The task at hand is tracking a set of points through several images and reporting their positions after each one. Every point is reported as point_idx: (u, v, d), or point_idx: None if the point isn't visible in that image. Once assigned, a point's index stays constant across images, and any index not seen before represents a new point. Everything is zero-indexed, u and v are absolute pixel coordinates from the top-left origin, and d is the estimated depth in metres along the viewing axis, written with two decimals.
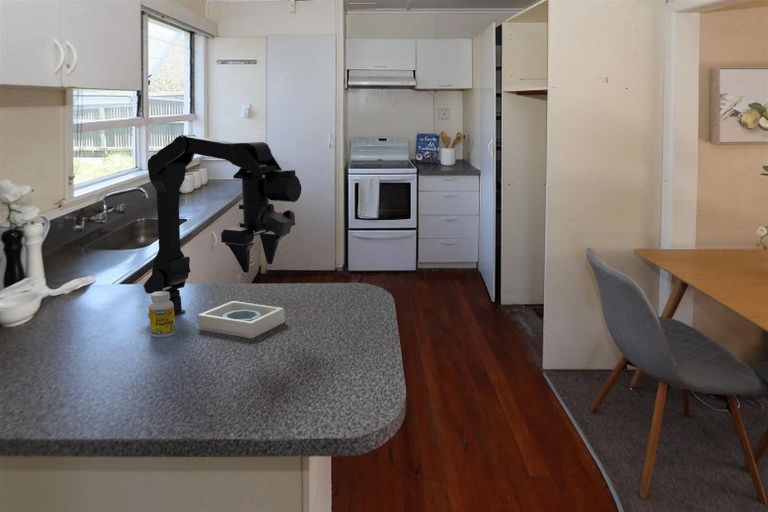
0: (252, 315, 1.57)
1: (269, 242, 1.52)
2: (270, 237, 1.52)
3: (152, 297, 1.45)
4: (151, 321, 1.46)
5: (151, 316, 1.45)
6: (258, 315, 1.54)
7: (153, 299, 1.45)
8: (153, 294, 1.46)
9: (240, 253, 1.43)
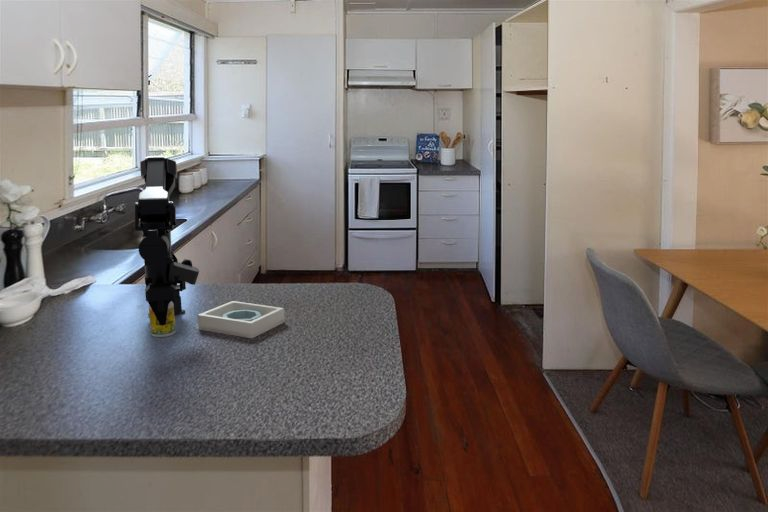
0: (252, 315, 1.57)
1: None
2: None
3: None
4: (151, 321, 1.46)
5: (151, 316, 1.45)
6: (258, 315, 1.54)
7: None
8: None
9: (159, 307, 1.43)
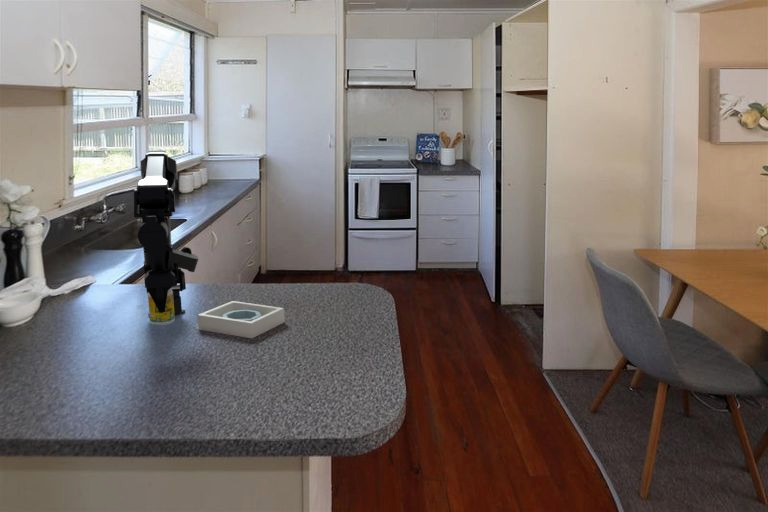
0: (252, 315, 1.57)
1: None
2: None
3: None
4: (150, 309, 1.45)
5: (150, 303, 1.45)
6: (258, 315, 1.54)
7: None
8: None
9: (158, 294, 1.43)
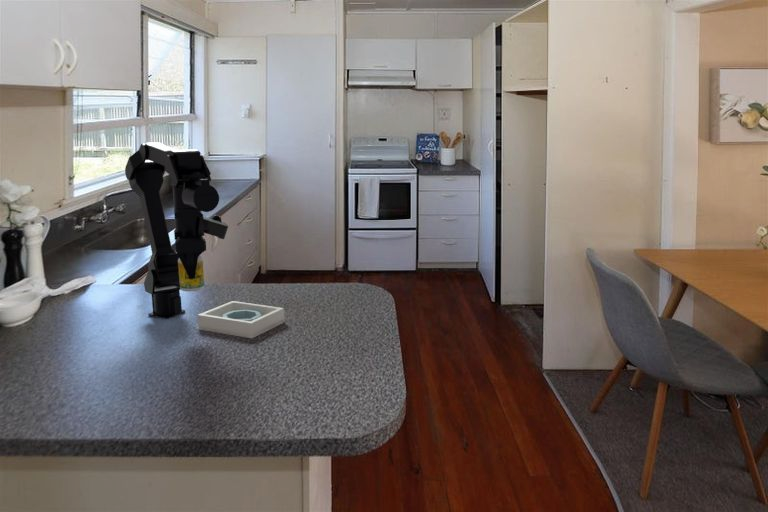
0: (252, 315, 1.57)
1: None
2: None
3: None
4: (180, 275, 1.46)
5: (180, 269, 1.46)
6: (258, 315, 1.54)
7: None
8: None
9: (189, 260, 1.43)
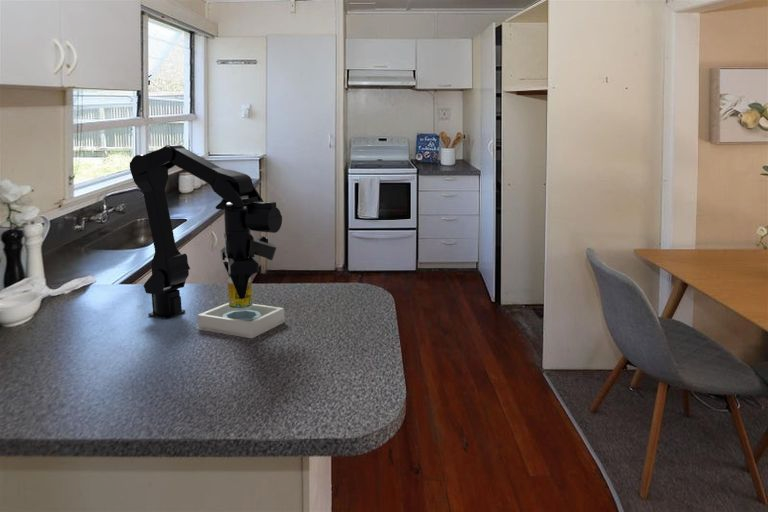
0: (252, 315, 1.57)
1: None
2: None
3: None
4: (230, 295, 1.51)
5: (230, 290, 1.51)
6: (258, 315, 1.54)
7: None
8: None
9: (240, 281, 1.48)
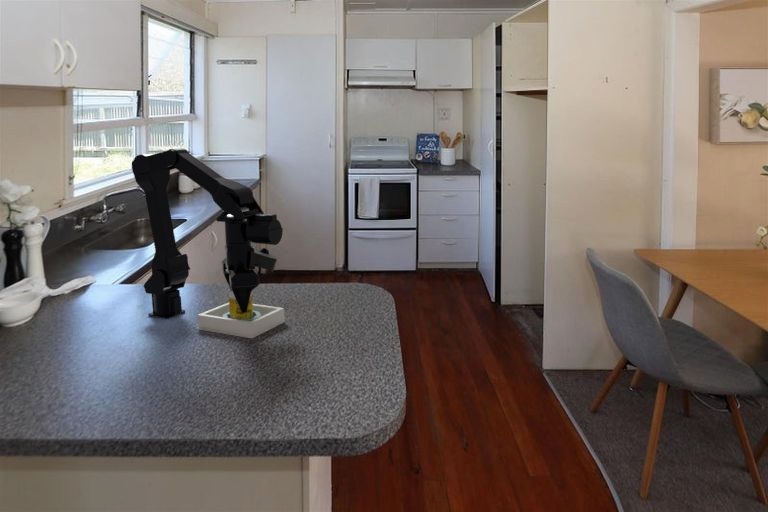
0: None
1: None
2: None
3: None
4: (231, 310, 1.52)
5: (231, 304, 1.51)
6: (258, 315, 1.54)
7: None
8: None
9: (242, 294, 1.47)
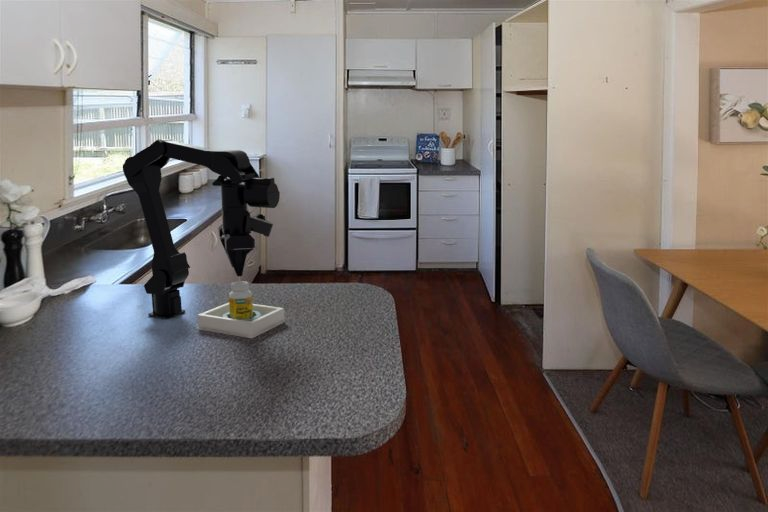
0: None
1: None
2: None
3: (233, 286, 1.51)
4: (231, 310, 1.52)
5: (231, 304, 1.51)
6: (258, 315, 1.54)
7: (234, 288, 1.51)
8: (233, 284, 1.51)
9: (237, 258, 1.48)
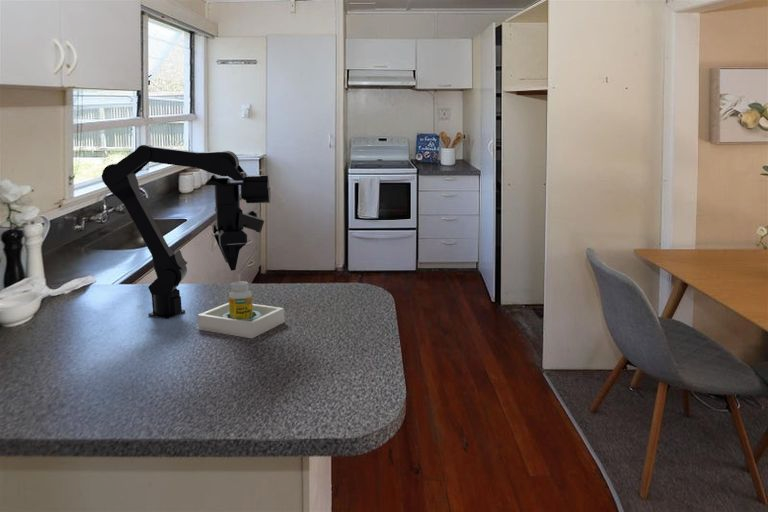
0: None
1: None
2: None
3: (233, 286, 1.51)
4: (231, 310, 1.52)
5: (231, 304, 1.51)
6: (258, 315, 1.54)
7: (234, 288, 1.51)
8: (233, 284, 1.51)
9: (231, 253, 1.56)
